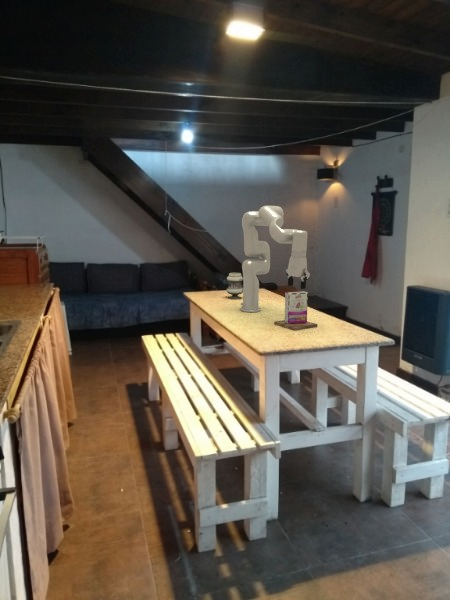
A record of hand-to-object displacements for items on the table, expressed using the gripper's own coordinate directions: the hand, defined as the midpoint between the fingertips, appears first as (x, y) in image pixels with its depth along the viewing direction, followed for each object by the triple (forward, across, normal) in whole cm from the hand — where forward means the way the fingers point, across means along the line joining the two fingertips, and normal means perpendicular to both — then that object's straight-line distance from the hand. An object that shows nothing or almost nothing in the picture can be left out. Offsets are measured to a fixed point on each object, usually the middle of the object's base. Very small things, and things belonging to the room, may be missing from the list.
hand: (296, 287), depth 231 cm
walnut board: (+20, +1, 0) cm, 21 cm away
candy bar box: (+19, +1, 0) cm, 19 cm away
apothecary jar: (+23, -83, +19) cm, 88 cm away
